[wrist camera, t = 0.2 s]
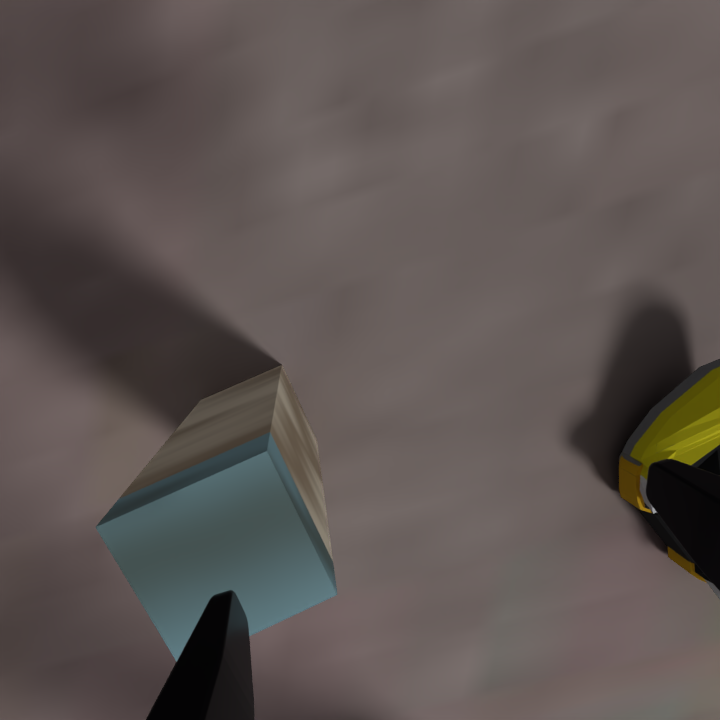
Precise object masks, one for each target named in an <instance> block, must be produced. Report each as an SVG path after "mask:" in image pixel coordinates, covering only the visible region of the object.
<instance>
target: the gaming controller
mask: <svg viewBox="0 0 720 720" xmlns="http://www.w3.org/2000/svg"><path fill="white" fill-rule="evenodd" d="M664 459H674V460H677V461H680V462H683V463H685V464H688V465H691V466H694V467H697V468H699V469H702V470H705V471H708V472H711V473H714V474H716V475H719V476H720V359H718V360H716V361H713V362H711V363H708V364H706V365H703V366H701V367H699V368H698V369H697V370H696V371H695V372H693V373H692V374H691V375H690V376H689V377H688V378H686V379H685V380H684V381H683V382H682V383H681V384H679V385H678V386H677V387H676V388H675V389H674V390H673V391H671V392H670V393H669V394H668V395H667V396H666V397H664V398H663V399H662V400H661V401H660V402H659V403H657V404H656V405H655V406H654V407H653V408H652V409H651V410H650V411H649V413H648V414H647V415H646V417H645V418H644V419H643V421H642V422H641V423H640V425H639V426H638V427H637V429H636V430H635V431H634V432H633V434H632V435H631V437H630V438H629V439H628V441H627V443H626V445H625V447H624V449H623V451H622V453H621V454H620V457H619V491H620V495H621V498H623V499H625V500H626V501H628V502H629V503H631V504H632V505H634V506H635V507H637V508H638V510H639V511H640V512H641V513H642V515H643V516H644V517H645V518H646V520H647V521H648V522H649V524H650V525H651V526H652V527H653V529H654V530H655V531H656V532H657V534H658V535H659V536H660V538H661V539H662V540H663V541H664V543H665V544H666V545H667V546H668V557H669V558H670V559H671V560H673V561H674V562H676V563H677V564H678V565H680V566H681V567H682V568H684V569H685V570H686V571H688V572H689V573H690V574H692V575H693V576H695V577H696V578H698V579H699V580H702V581H704V582H706V583H708V585H709V586H710V587H711V589H712V590H713V591H714V593H715V594H716V595H717V596H718V598H719V599H720V591H719V590H718V589H717V588H716V586H715V585H714V584H713V583H712V582H711V581H710V580H709V579H708V578H707V576H706V575H705V574H704V573H703V572H702V571H701V569H700V568H699V567H698V566H697V565H696V563H695V562H694V561H693V560H692V558H691V557H690V556H689V555H688V553H687V552H686V551H685V549H684V548H683V547H682V545H681V544H680V543H679V541H678V540H677V539H676V537H675V536H674V535H673V533H672V532H671V531H670V529H669V528H668V527H667V525H666V524H665V523H664V521H663V520H662V519H661V517H660V516H659V515H658V513H657V512H656V511H655V509H654V508H653V507H652V505H651V504H650V502H649V501H648V499H647V496H646V484H647V476H648V469H649V466H650V465H651V464H652V463H654V462H657V461H660V460H664Z"/></svg>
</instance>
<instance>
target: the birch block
mask: <svg viewBox="0 0 720 720" xmlns="http://www.w3.org/2000/svg"><path fill="white" fill-rule="evenodd" d="M96 529H97V531H98V532H99V534H100V536H101V537H102V539H103V540H104V542H105V544H106V545H107V547H108V549H109V550H110V552H111V554H112V555H113V557H114V559H115V560H116V562H117V564H118V565H119V567H120V569H121V570H122V572H123V574H124V575H125V577H126V579H127V580H128V582H129V584H130V585H131V587H132V589H133V590H134V592H135V594H136V595H137V597H138V599H139V600H140V602H141V604H142V605H143V607H144V608H145V610H146V612H147V613H148V615H149V617H150V618H151V620H152V622H153V623H154V625H155V627H156V628H157V630H158V632H159V633H160V635H161V637H162V638H163V640H164V642H165V643H166V645H167V647H168V648H169V650H170V652H171V653H172V655H173V657H174V658H175V660H176V662H177V660H178V658H179V656H180V655H181V653H182V651H183V649H184V647H185V645H186V643H187V641H188V639H189V638H190V636H191V634H192V632H193V630H194V628H195V626H196V624H197V622H198V621H199V619H200V617H201V615H202V613H203V611H204V609H205V607H206V606H207V604H208V602H209V600H210V598H211V597H212V596H213V595H215V594H218V593H222V592H225V591H228V590H233V591H234V592H235V593H236V595H237V597H238V599H239V601H240V603H241V605H242V608H243V610H244V612H245V614H246V617H247V621H248V627H249V636H251V635H253V634H255V633H257V632H259V631H261V630H263V629H266V628H268V627H270V626H272V625H274V624H276V623H278V622H280V621H283V620H285V619H287V618H289V617H291V616H293V615H295V614H297V613H300V612H302V611H304V610H306V609H308V608H310V607H312V606H314V605H317V604H319V603H321V602H323V601H325V600H327V599H329V598H331V597H333V596H336V595H337V588H336V581H335V574H334V566H333V559H332V551H331V544H330V536H329V529H328V521H327V514H326V506H325V499H324V491H323V484H322V476H321V469H320V461H319V454H318V446H317V440H316V438H315V435H314V433H313V431H312V429H311V427H310V425H309V422H308V420H307V418H306V416H305V414H304V412H303V409H302V407H301V405H300V403H299V401H298V399H297V396H296V394H295V392H294V390H293V388H292V386H291V383H290V381H289V379H288V377H287V375H286V373H285V370H284V368H283V366H282V365H280V366H278V367H276V368H273V369H271V370H269V371H266V372H264V373H262V374H259V375H257V376H255V377H253V378H250V379H248V380H246V381H243V382H241V383H239V384H236V385H234V386H232V387H229V388H227V389H225V390H223V391H220V392H218V393H216V394H213V395H211V396H209V397H206V398H204V399H202V400H200V401H199V403H198V404H197V405H196V406H195V407H194V409H193V410H192V411H191V412H190V413H189V415H188V416H187V417H186V418H185V419H184V421H183V422H182V423H181V424H180V426H179V427H178V428H177V429H176V430H175V432H174V433H173V434H172V435H171V436H170V438H169V439H168V440H167V441H166V442H165V444H164V445H163V446H162V447H161V449H160V450H159V451H158V452H157V453H156V455H155V456H154V457H153V458H152V459H151V461H150V462H149V463H148V464H147V465H146V467H145V468H144V469H143V470H142V472H141V473H140V474H139V475H138V476H137V478H136V479H135V480H134V481H133V482H132V484H131V485H130V486H129V487H128V489H127V490H126V491H125V492H124V493H123V495H122V496H121V497H120V498H119V499H118V501H117V502H116V503H115V504H114V505H113V507H112V508H111V509H110V510H109V512H108V513H107V514H106V515H105V516H104V518H103V519H102V520H101V521H100V522H99V524H98V525H97V526H96Z"/></svg>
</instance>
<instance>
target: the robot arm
mask: <svg viewBox="0 0 720 720" xmlns="http://www.w3.org/2000/svg"><path fill="white" fill-rule="evenodd" d="M646 496H647V499H648V501H649V502H650V504H651V505H652V507H653V508H654V509H655V511H656V512H657V513H658V515H659V516H660V517H661V519H662V520H663V521H664V523H665V524H666V525H667V527H668V528H669V529H670V531H671V532H672V533H673V535H674V536H675V537H676V539H677V540H678V541H679V543H680V544H681V545H682V547H683V548H684V549H685V551H686V552H687V553H688V555H689V556H690V557H691V558H692V560H693V561H694V562H695V563H696V565H697V566H698V567H699V568H700V569H701V571H702V572H703V573H704V574H705V575H706V576H707V578H708V579H709V580H710V581H711V582H712V583H713V584H714V585H715V586H716V588H717V589H718V590H719V591H720V476H719V475H716V474H714V473H711V472H708V471H705V470H702V469H699V468H697V467H694V466H691V465H688V464H685V463H683V462H680V461H677V460H674V459H664V460H660V461H657V462H654V463H652V464H651V465H650V466H649V469H648V476H647V484H646ZM146 720H254V697H253V683H252V669H251V655H250V641H249V627H248V621H247V617H246V614H245V612H244V610H243V608H242V605H241V603H240V601H239V599H238V597H237V595H236V593H235V592H234V591H233V590H228V591H225V592H222V593H218V594H215V595H213V596H212V597H211V598H210V600H209V602H208V604H207V606H206V607H205V609H204V611H203V613H202V615H201V617H200V619H199V621H198V622H197V624H196V626H195V628H194V630H193V632H192V634H191V636H190V638H189V639H188V641H187V643H186V645H185V647H184V649H183V651H182V653H181V655H180V656H179V658H178V660H177V662H176V664H175V666H174V668H173V670H172V671H171V673H170V675H169V677H168V679H167V681H166V683H165V685H164V687H163V688H162V690H161V692H160V694H159V696H158V698H157V700H156V702H155V703H154V705H153V707H152V709H151V711H150V713H149V715H148V717H147V719H146Z"/></svg>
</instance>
